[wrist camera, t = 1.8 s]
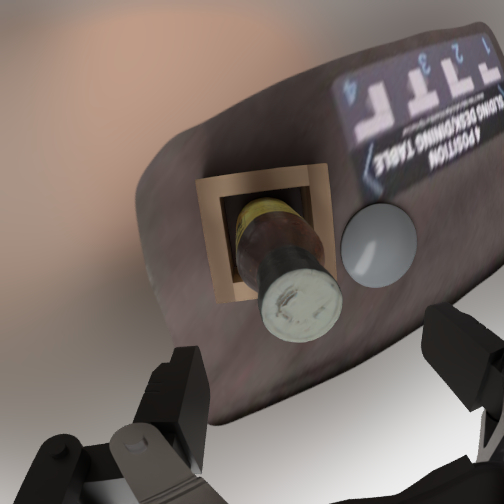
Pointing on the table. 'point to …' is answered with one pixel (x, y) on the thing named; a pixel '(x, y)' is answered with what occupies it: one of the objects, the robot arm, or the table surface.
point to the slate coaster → (378, 245)
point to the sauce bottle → (286, 271)
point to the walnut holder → (215, 188)
